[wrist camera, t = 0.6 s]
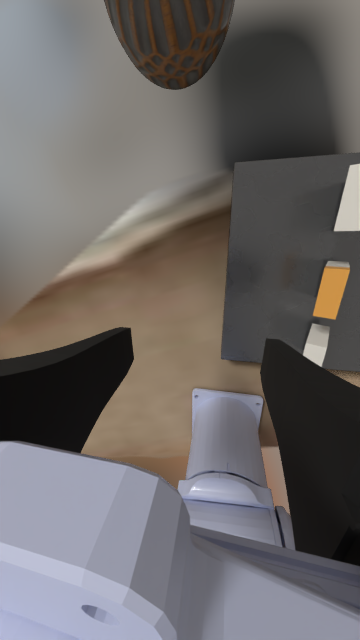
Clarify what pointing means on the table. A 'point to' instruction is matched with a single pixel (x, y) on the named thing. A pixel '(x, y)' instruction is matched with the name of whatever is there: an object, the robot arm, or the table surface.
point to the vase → (171, 36)
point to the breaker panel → (289, 258)
